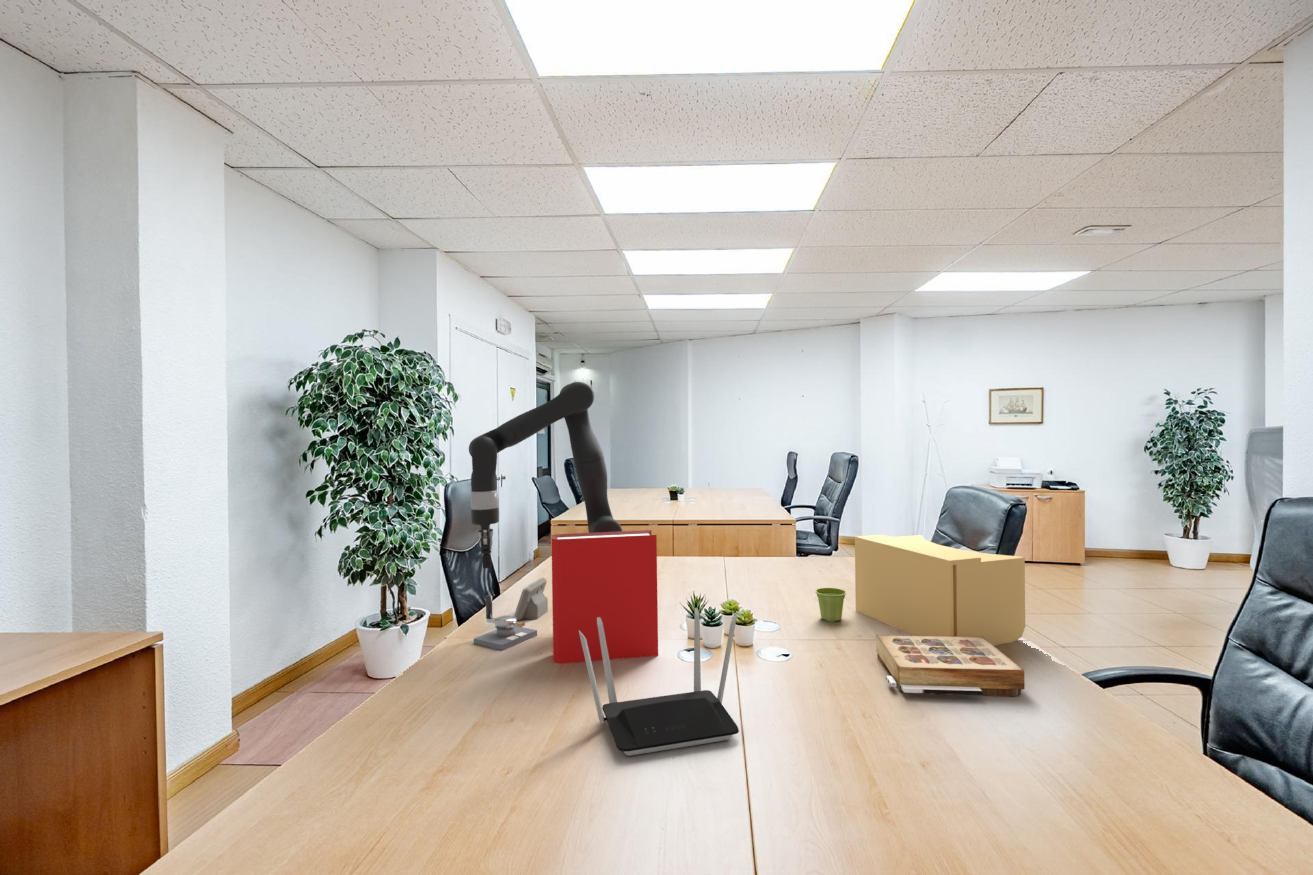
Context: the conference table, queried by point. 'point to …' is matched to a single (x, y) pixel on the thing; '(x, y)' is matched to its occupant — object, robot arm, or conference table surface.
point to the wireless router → (664, 708)
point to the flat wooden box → (948, 665)
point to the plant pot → (831, 603)
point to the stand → (505, 637)
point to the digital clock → (532, 601)
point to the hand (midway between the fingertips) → (487, 567)
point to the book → (604, 594)
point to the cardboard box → (940, 588)
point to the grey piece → (501, 621)
